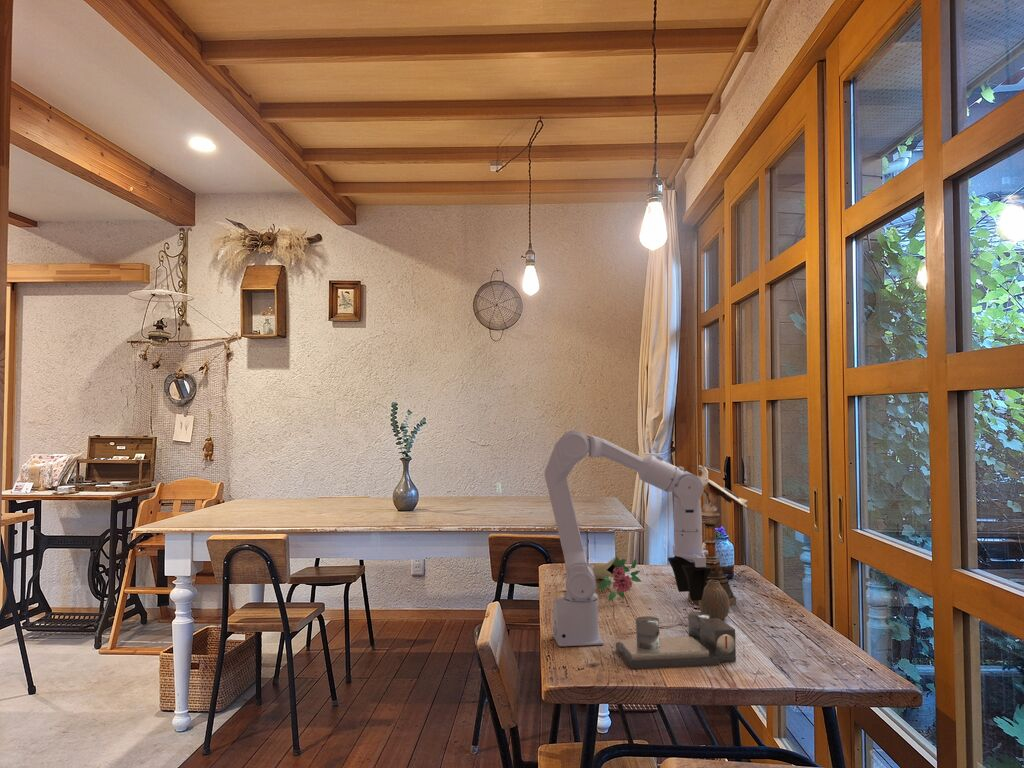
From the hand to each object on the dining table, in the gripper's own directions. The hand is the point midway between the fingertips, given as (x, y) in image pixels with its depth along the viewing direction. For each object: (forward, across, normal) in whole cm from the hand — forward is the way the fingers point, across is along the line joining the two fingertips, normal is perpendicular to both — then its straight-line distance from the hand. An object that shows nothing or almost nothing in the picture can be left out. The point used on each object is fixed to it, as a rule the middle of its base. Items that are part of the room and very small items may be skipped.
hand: (689, 595), depth 151 cm
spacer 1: (+7, -9, +12) cm, 16 cm away
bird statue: (+10, +32, -19) cm, 39 cm away
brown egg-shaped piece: (+10, +16, -12) cm, 22 cm away
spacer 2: (+10, +2, -3) cm, 10 cm away
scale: (+10, -9, +6) cm, 14 cm away
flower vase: (+10, +45, +6) cm, 46 cm away
